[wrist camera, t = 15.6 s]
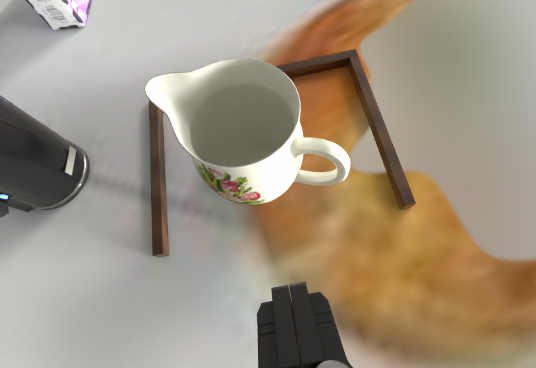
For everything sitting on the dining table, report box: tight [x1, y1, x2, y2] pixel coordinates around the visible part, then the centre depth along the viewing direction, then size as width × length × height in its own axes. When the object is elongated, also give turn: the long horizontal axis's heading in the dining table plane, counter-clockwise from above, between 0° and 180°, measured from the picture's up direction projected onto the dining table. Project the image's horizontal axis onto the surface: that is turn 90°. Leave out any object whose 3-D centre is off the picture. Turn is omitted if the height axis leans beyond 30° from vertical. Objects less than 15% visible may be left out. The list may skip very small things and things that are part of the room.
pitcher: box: [145, 58, 350, 205], centre depth 29 cm, size 11×18×14 cm, turn 71°
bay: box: [149, 49, 416, 257], centre depth 36 cm, size 22×29×2 cm
